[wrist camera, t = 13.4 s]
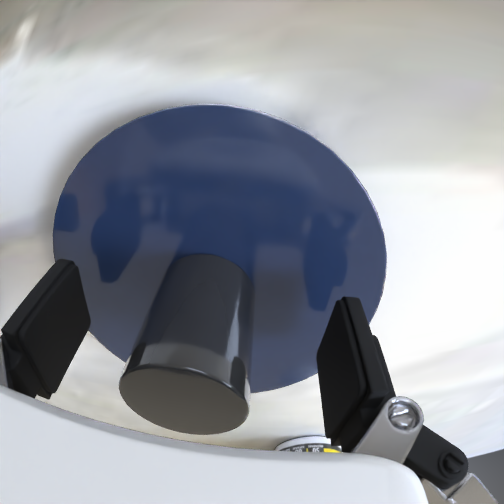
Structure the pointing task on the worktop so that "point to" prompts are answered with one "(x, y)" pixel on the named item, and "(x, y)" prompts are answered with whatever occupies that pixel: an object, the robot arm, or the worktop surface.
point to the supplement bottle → (309, 445)
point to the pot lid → (215, 256)
